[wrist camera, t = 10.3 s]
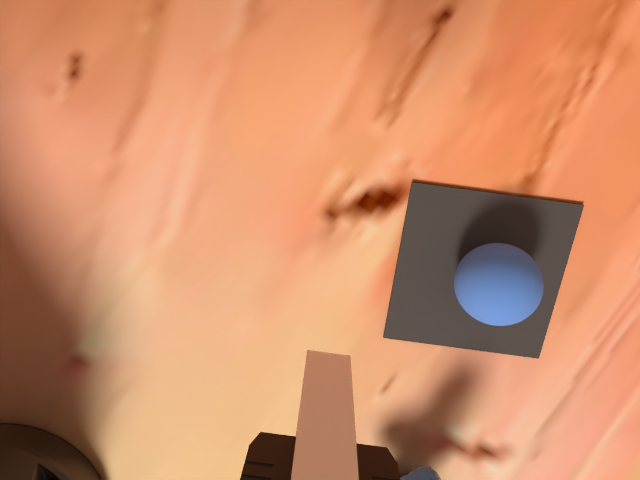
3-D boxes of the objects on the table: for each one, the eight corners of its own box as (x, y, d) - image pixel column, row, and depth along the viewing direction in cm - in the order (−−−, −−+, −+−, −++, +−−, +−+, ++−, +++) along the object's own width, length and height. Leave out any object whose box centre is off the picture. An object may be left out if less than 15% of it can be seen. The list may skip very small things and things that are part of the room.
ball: (494, 303, 32) (431, 303, 30) (511, 234, 30) (447, 231, 29) (550, 340, 27) (478, 343, 25) (575, 260, 25) (500, 258, 23)
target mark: (383, 336, 32) (383, 337, 32) (411, 181, 29) (412, 182, 29) (537, 356, 32) (538, 358, 32) (582, 204, 29) (584, 205, 29)
